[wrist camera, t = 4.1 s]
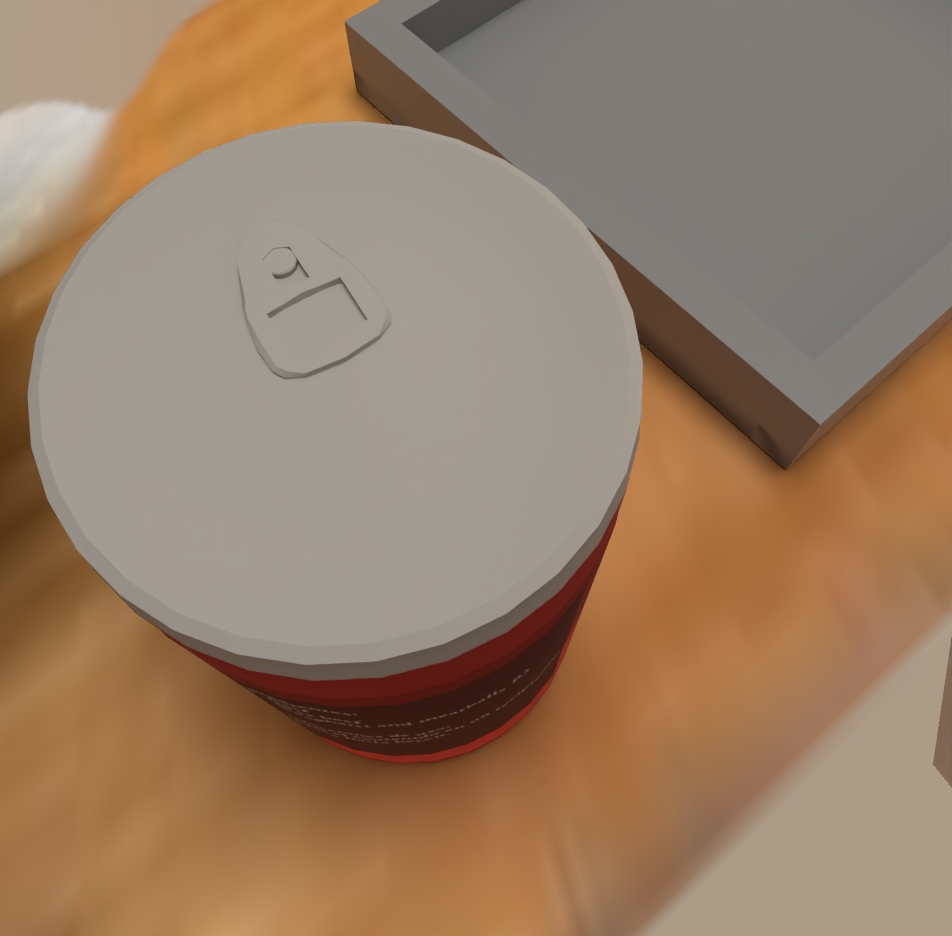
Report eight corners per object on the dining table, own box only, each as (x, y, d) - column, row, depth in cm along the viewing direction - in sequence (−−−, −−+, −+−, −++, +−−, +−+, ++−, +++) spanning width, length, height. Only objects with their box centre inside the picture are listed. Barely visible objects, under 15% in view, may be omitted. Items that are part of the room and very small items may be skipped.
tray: (785, 469, 22) (820, 424, 19) (356, 90, 27) (344, 21, 25) (1168, 121, 26) (1232, 52, 24) (732, -140, 32) (750, -215, 30)
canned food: (404, 395, 23) (336, 35, 13) (640, 589, 20) (783, 334, 10) (182, 601, 20) (-114, 359, 10) (419, 845, 18) (330, 834, 8)
